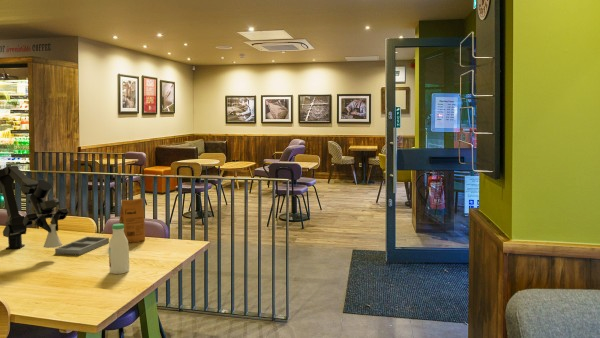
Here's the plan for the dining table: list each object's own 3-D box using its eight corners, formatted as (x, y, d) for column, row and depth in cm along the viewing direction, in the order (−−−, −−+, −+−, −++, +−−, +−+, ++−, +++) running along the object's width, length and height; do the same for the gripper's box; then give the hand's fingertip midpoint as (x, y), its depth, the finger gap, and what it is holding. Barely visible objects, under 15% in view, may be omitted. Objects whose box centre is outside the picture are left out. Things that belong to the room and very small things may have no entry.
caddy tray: (55, 253, 225) (55, 248, 225) (87, 241, 248) (86, 236, 248) (79, 255, 223) (79, 250, 222) (109, 242, 246) (108, 237, 246)
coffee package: (118, 240, 251) (116, 198, 249) (142, 237, 258) (141, 196, 255) (121, 244, 243) (120, 201, 241) (146, 241, 249) (145, 199, 247)
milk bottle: (133, 269, 202) (131, 223, 200) (120, 275, 195) (119, 227, 193) (118, 267, 205) (116, 221, 203) (105, 273, 198) (103, 225, 195)
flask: (54, 248, 212) (53, 226, 211) (40, 248, 214) (39, 225, 213) (65, 245, 219) (64, 223, 218) (51, 244, 221) (50, 222, 220)
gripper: (24, 196, 208) (39, 224, 204) (65, 190, 224) (80, 217, 219) (16, 211, 214) (30, 239, 209) (57, 205, 229) (71, 231, 224)
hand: (54, 231), depth 215 cm, fingers closed on flask, 3 cm apart
